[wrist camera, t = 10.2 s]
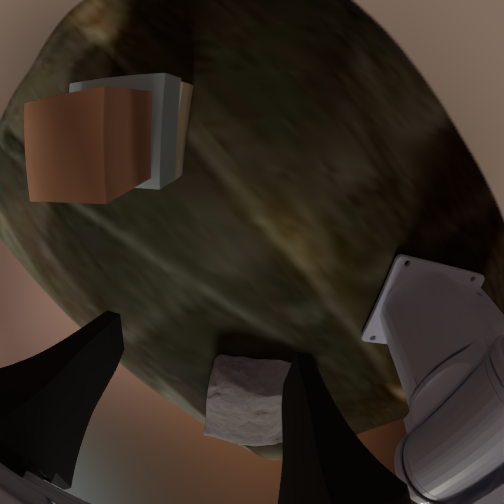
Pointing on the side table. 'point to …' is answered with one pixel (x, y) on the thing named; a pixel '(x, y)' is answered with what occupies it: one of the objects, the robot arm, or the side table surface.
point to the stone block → (246, 400)
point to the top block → (152, 119)
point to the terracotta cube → (88, 144)
